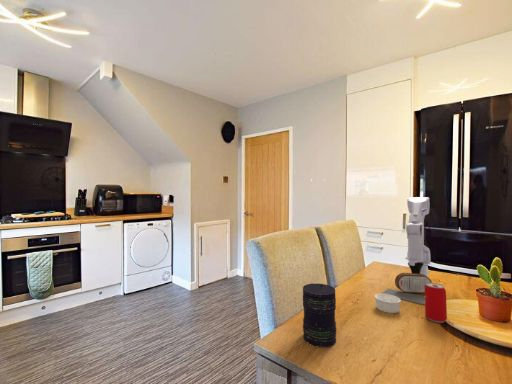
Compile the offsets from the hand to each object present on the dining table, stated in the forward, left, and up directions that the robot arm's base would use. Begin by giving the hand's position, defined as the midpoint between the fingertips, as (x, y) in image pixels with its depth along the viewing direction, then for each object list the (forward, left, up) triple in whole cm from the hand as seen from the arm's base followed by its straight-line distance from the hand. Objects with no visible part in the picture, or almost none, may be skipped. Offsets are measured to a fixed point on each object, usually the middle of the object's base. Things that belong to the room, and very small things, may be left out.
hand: (416, 278), depth 117 cm
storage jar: (+68, -11, -6) cm, 69 cm away
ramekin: (+31, -3, -6) cm, 31 cm away
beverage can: (+29, +12, -6) cm, 32 cm away
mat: (+12, 0, -5) cm, 13 cm away
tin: (+5, 0, -5) cm, 7 cm away
